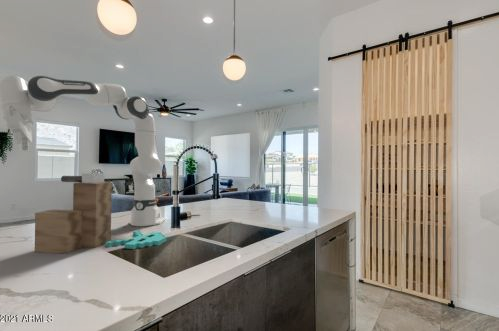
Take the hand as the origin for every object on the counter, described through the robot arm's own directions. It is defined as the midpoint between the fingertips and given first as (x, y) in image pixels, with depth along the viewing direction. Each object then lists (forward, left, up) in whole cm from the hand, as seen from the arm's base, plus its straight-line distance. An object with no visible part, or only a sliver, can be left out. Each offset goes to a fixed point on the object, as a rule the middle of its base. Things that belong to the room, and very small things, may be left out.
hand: (22, 146), depth 104 cm
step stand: (-5, +19, -40) cm, 45 cm away
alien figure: (-15, +43, -41) cm, 61 cm away
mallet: (-9, +18, -14) cm, 25 cm away
